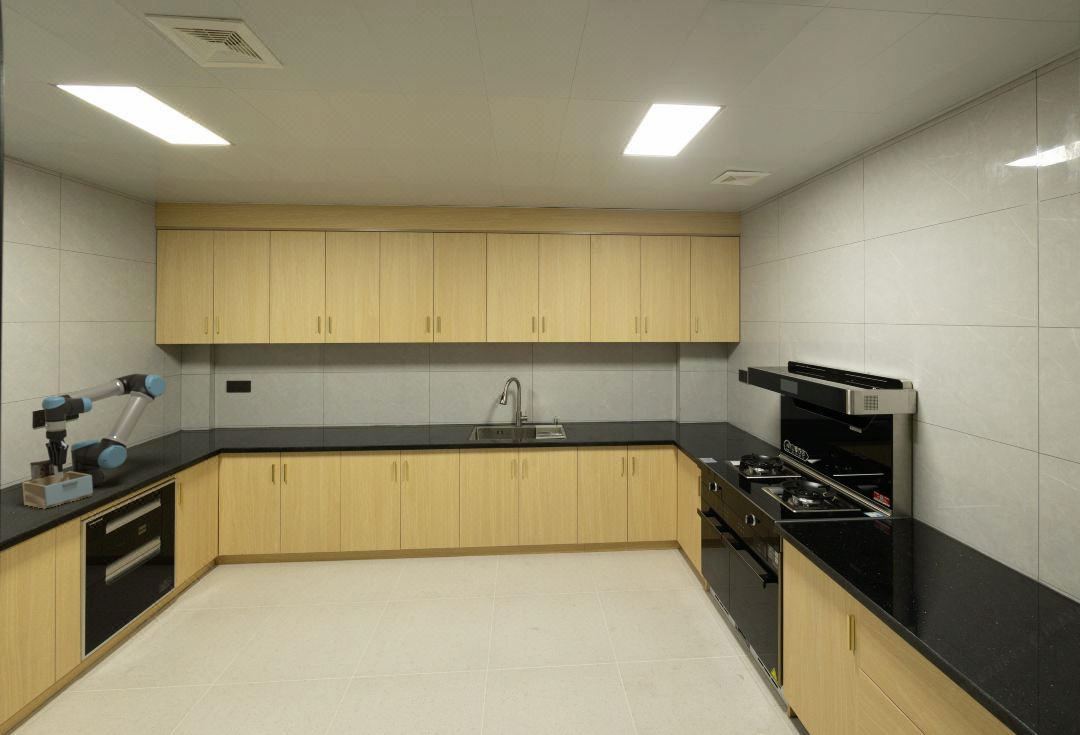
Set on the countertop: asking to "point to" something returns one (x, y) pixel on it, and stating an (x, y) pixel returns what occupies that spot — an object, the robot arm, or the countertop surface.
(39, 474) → the coffee box
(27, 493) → the crate
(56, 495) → the panel
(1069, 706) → the countertop surface
